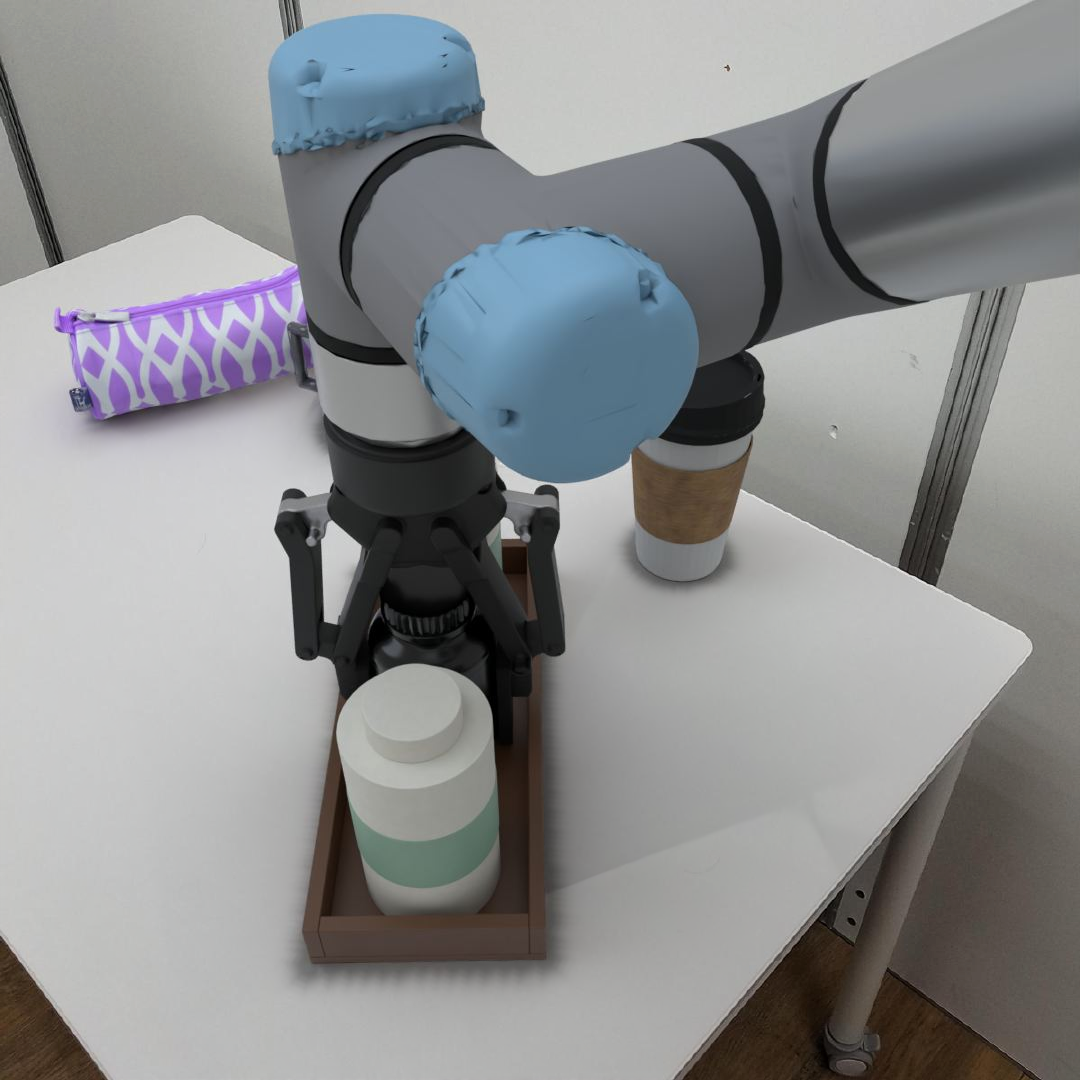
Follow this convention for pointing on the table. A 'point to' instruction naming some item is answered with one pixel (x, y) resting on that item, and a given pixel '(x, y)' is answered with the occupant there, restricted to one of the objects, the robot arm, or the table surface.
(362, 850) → the white bottle near
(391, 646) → the supplement bottle
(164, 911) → the table surface
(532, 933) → the tray
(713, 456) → the coffee cup
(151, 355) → the pencil case
